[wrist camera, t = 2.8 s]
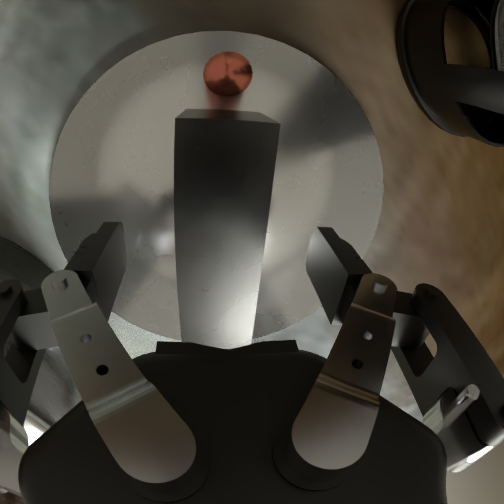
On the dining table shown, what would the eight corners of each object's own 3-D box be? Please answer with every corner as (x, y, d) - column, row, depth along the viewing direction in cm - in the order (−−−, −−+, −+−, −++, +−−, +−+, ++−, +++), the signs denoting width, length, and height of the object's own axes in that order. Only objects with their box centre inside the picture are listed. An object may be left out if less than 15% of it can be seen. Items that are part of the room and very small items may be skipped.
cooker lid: (54, 50, 9) (-11, 46, 5) (396, 70, 12) (467, 77, 7) (90, 324, 18) (71, 386, 13) (333, 325, 20) (358, 382, 16)
